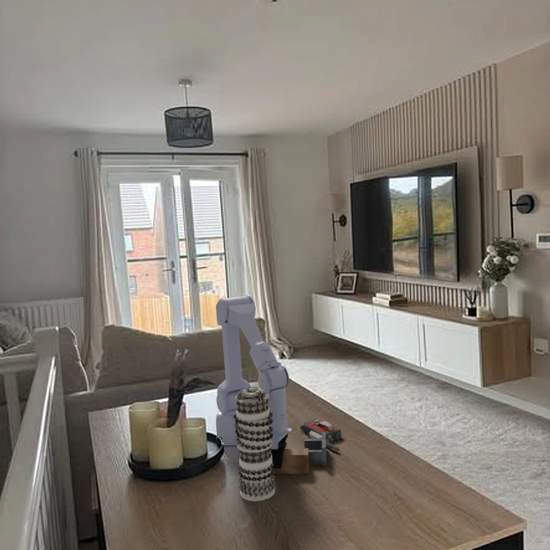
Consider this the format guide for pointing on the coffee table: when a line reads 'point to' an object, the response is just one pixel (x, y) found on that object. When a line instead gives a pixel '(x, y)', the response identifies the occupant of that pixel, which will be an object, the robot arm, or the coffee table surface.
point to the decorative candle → (254, 444)
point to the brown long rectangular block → (295, 461)
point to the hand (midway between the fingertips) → (278, 464)
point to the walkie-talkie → (318, 427)
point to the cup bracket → (316, 450)
